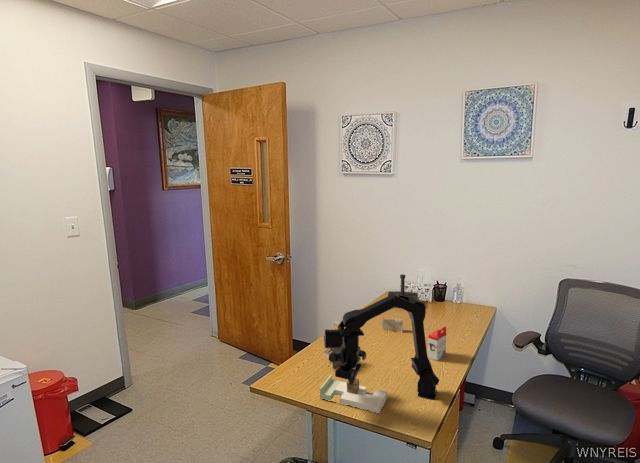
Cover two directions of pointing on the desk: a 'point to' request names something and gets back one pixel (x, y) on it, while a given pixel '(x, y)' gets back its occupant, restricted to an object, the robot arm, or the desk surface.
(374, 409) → the board
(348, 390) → the walnut block
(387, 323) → the model
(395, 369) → the desk surface
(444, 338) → the ink box
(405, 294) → the dark post stand
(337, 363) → the architectural model
